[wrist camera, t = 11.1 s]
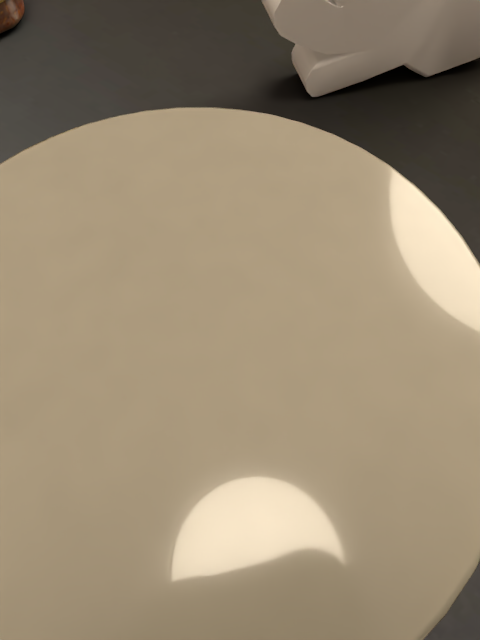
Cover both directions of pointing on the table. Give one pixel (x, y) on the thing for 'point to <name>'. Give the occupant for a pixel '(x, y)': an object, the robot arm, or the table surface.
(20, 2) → the sauce bottle
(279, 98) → the table surface
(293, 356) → the lidded mug
